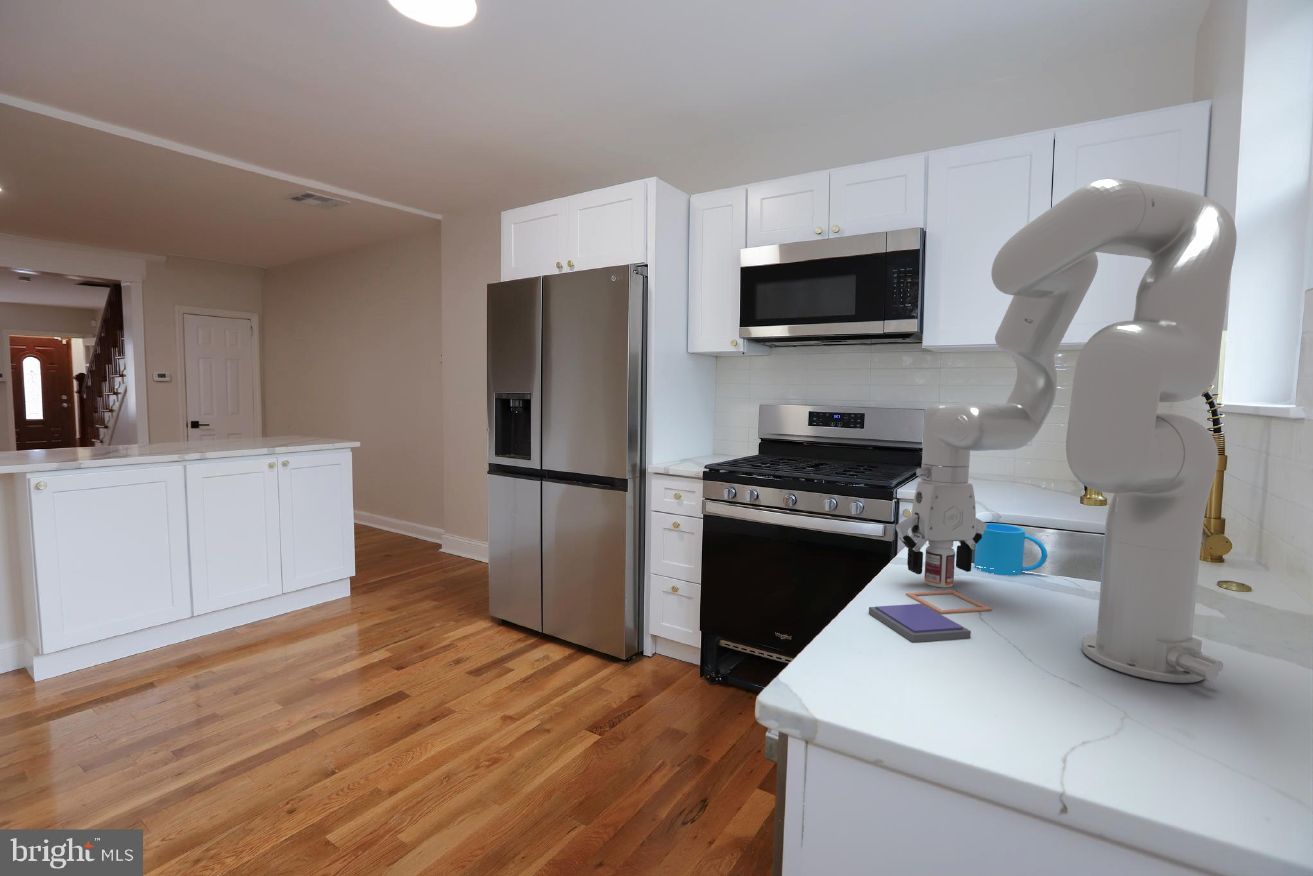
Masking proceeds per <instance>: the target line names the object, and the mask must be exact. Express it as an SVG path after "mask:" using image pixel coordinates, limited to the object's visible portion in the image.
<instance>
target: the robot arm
mask: <svg viewBox="0 0 1313 876" xmlns="http://www.w3.org/2000/svg"><path fill="white" fill-rule="evenodd" d="M1237 237H1238V236H1237V228H1236V224H1235V221H1234V219H1233V217H1232V215H1231V214H1230V212H1229V211H1228V210H1227V209H1226V207H1224V206H1223V205H1222V204H1220V203H1219V202H1218V201H1215V200H1213V199H1211V198H1209V197H1206V196H1203V195H1200V194H1198V193H1195V192H1190V191H1186V190H1182V189H1179V188H1178V189H1177V188H1173V187H1168V186H1163V185H1158V184H1152V183H1145V182H1140V181H1135V180H1131V179H1123V178H1116V177H1115V178H1111V177H1110V178H1109V177H1108V178H1104V179H1099V180H1094V181H1091V182H1090V183H1088V184H1085V185H1083V186H1081V187H1079V188H1078V189H1076V190H1075V191H1073V192H1072V193H1070V194H1068V195H1067V196H1066V197H1064V198H1063V199H1062V200H1060V201H1059V202H1058V203H1055V205H1053V206H1052V207H1050V208H1049V209H1047V210H1046V211H1044V212H1043V213H1042V214H1041V215H1039V216H1038V217H1036V218H1035V219H1033V220H1032V221H1030V222H1029V223H1028V224H1026V225H1024V227H1022V228H1021V229H1019V230H1018V231H1017V232H1016V233H1015V234H1013V236H1011V237H1010V238H1009V239H1008V240H1007V241H1006V242H1005V243H1004V244H1003V246H1002V247H1001V248H1000V249H999V251H998V252H997V254H996V255H995V257H994V259H993V262H992V267H991V279H992V283H993V285H994V286H995V288H996V289H997V290H998V291H999V292H1001V293H1003V294H1005V295H1009V296H1013V297H1012V299H1011V301H1010V303H1009V304H1008V307H1007V309H1006V311H1005V314H1004V315H1003V318H1002V320H1001V322H1000V325H999V327H998V329H997V330H996V332H995V335H994V341H995V344H996V345H997V346H998V348H1000V350H1002V351H1003V352H1004V353H1006V354H1008V355H1009V356H1011V357H1012V360H1013V361H1014V363H1015V366H1016V380H1015V382H1014V386H1013V388H1012V391H1011V393H1010V394H1009V396H1008V398H1007V401H1006V402H1005V403H1002V404H1001V403H985V404H984V403H983V404H981V403H975V404H971V403H970V404H956V403H955V404H953V403H935V404H934V403H933V404H930V405H928V406H926V408H925V411H924V416H923V417H924V418H923V424H924V425H923V433H922V434H923V437H922V438H923V439H922V440H923V441H922V454H921V455H922V457H921V458H922V460H921V467H920V468H917V469H916V471H915V473H916V476H918V477H920V481H917V484H916V487H915V491H914V492H915V493H914V496H913V501H912V502H913V503H912V508H911V509H912V510H911V515H910V516H909V517H907V518H906V519H904V520H902V521H900V522H898V523H897V524H896V525H895V530H896V531H897V534H898V536H899V540H900V541H901V542H902V543H903V545H904V546H905V548H906V549H907V562H906V563H907V570H908V571H910V572H912V573H914V574H917V575H921V574H922V573H923V564H924V563H923V561H924V553H923V551H922V550H921V549H923V547H924V545H926V543H928V541H931V542H949V541H953V542H958V543H959V545H957V546H956V551H955V567H956V568H957V569H959V570H962V571H964V572H966V573H969V572H971V571H972V563H973V550H975V548H976V544H977V543H978V542H979V541H980V540H981V538H982V534H983V533H984V531H985V529H986V527H987V524H986V523H987V522H984V521H983V520H981V519H979V518H977V516H976V515H977V512H976V511H977V510H976V498H975V490H974V486H973V483H971V482H969V475H970V473H969V472H970V461H971V460H970V458H971V452H981V451H986V452H987V451H1001V450H1002V451H1005V450H1006V451H1009V450H1018V449H1020V448H1023V447H1025V446H1027V445H1028V444H1029V443H1030V442H1032V440H1033V439H1034V438H1035V437H1036V436H1037V435H1038V433H1039V431H1040V430H1041V428H1042V427H1043V425H1044V423H1045V421H1046V419H1047V417H1048V416H1049V414H1050V412H1051V410H1052V407H1053V405H1054V402H1055V400H1056V395H1057V383H1058V382H1057V381H1058V380H1057V379H1058V377H1057V376H1058V375H1057V367H1056V363H1055V356H1056V353H1057V351H1058V349H1059V346H1060V345H1061V343H1062V341H1063V339H1064V337H1065V334H1066V333H1067V331H1068V330H1069V327H1070V325H1071V324H1072V321H1073V320H1074V318H1075V315H1076V313H1077V312H1078V310H1079V308H1080V307H1081V304H1082V302H1083V300H1084V298H1085V297H1086V295H1087V293H1088V291H1089V289H1090V287H1091V286H1092V283H1093V282H1094V279H1095V277H1096V274H1097V272H1098V268H1099V267H1098V266H1099V259H1098V255H1097V253H1103V254H1110V255H1117V256H1127V257H1133V258H1134V257H1135V258H1142V259H1143V258H1144V259H1147V260H1149V261H1151V263H1150V265H1149V266H1148V268H1147V270H1146V271H1145V272H1144V273H1143V276H1142V277H1141V280H1140V281H1139V284H1138V287H1137V292H1136V295H1135V308H1134V314H1133V317H1132V320H1124V321H1123V320H1122V321H1118V322H1114V323H1112V324H1111V323H1110V324H1108V325H1106V326H1104V327H1103V328H1101V329H1099V330H1098V331H1097V332H1095V333H1094V334H1093V335H1092V336H1091V337H1090V338H1089V339H1088V340H1087V341H1086V343H1085V344H1084V346H1083V347H1082V349H1081V351H1080V353H1079V355H1078V358H1077V361H1076V363H1075V368H1074V373H1073V381H1072V389H1071V395H1070V405H1069V406H1070V407H1069V411H1068V412H1069V414H1068V421H1067V431H1066V442H1065V452H1066V460H1067V464H1068V467H1069V469H1070V471H1071V473H1072V474H1073V476H1074V478H1076V480H1078V482H1079V483H1081V484H1082V485H1083V486H1085V487H1087V488H1088V489H1091V490H1093V491H1096V492H1099V493H1104V494H1105V493H1106V494H1113V496H1112V498H1111V501H1110V503H1109V506H1108V509H1107V514H1106V519H1105V526H1104V537H1103V551H1102V561H1101V562H1102V563H1101V573H1100V574H1101V575H1100V576H1101V577H1100V589H1099V599H1098V600H1099V602H1098V613H1097V625H1096V626H1097V627H1096V633H1094V634H1089V635H1087V636H1085V637H1083V638H1082V640H1081V648H1080V649H1081V650H1082V652H1083V653H1084V654H1085V655H1086V656H1087V657H1088V658H1090V659H1091V660H1092V661H1095V662H1096V663H1098V664H1100V665H1102V666H1104V667H1106V668H1109V669H1112V670H1114V671H1118V672H1120V673H1123V674H1127V675H1130V676H1133V677H1136V678H1137V677H1139V678H1141V679H1147V680H1151V681H1157V682H1163V683H1174V684H1175V683H1176V684H1191V683H1197V682H1200V681H1203V680H1206V681H1210V682H1214V681H1215V680H1216V679H1217V678H1218V677H1219V674H1220V672H1221V671H1222V670H1223V668H1224V663H1223V661H1221V660H1218V659H1217V658H1214V657H1211V656H1207V655H1204V654H1203V652H1202V647H1203V646H1202V645H1203V640H1200V639H1198V638H1195V637H1194V635H1193V634H1194V626H1195V625H1194V624H1195V614H1196V603H1197V602H1196V601H1197V591H1198V581H1199V579H1198V578H1199V569H1200V557H1201V549H1202V541H1203V532H1204V530H1203V529H1204V522H1205V516H1206V515H1205V514H1206V508H1207V505H1208V500H1209V497H1210V494H1211V490H1212V487H1213V485H1214V482H1215V481H1214V480H1215V479H1216V474H1217V469H1218V462H1219V451H1218V446H1217V443H1216V440H1215V438H1214V437H1213V435H1212V434H1211V432H1210V431H1209V430H1208V429H1207V428H1206V427H1205V426H1204V425H1202V424H1201V423H1199V422H1198V421H1196V420H1194V419H1191V418H1190V417H1186V416H1183V415H1179V414H1174V413H1163V412H1162V413H1161V412H1158V408H1159V403H1178V402H1185V401H1188V400H1192V399H1195V398H1198V397H1200V396H1201V395H1202V394H1203V393H1205V392H1206V391H1207V390H1208V389H1209V388H1210V387H1211V385H1212V384H1213V381H1214V380H1215V378H1216V374H1217V371H1218V370H1217V369H1218V365H1219V359H1220V351H1221V346H1222V345H1221V344H1222V339H1223V331H1224V323H1225V318H1226V311H1227V301H1228V300H1227V298H1228V290H1229V284H1230V279H1231V274H1232V268H1233V266H1234V265H1233V264H1234V260H1235V259H1234V258H1235V256H1236V255H1235V254H1236V249H1237V248H1236V247H1237V242H1238V241H1237V239H1238V238H1237ZM909 529H910V531H911V532H910V533H911V535H909Z"/></svg>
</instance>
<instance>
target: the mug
mask: <svg viewBox="0 0 1313 876" xmlns="http://www.w3.org/2000/svg"><path fill="white" fill-rule="evenodd" d="M985 523H986V524H987V527H986V529H985V531H984V533H983V534H982V538H981V540H980V541H979V542H978V543H977V544H976V548H975V549H974V550H975V551H974V564H973V565H975V567H974V568H975V569H976V568H977V569H976V570H978V569H981V571H980V572H983V573H987V572H988V573H987V574H991V573H994V574H993V575H998V576H1006V575H1007V576H1008V577H1009V576H1010V577H1013V576H1020V575H1022V574H1023V572H1029V571H1035V570H1036V569H1039V568H1041V567H1042V566H1043V565H1044V564H1046V561H1047V559H1048V556H1049V555H1048V550H1047V548H1046V547H1045V545H1044V544H1043V542H1041V540H1039V539H1038V538H1036V537H1033V536H1032V535H1029V534H1026V530H1025V529H1024V528H1022V527H1018V526H1016V525H1015V526H1014V525H1010V524H1005V523H995V522H994V523H990V522H989V523H988V522H985ZM1026 540H1028V541H1031V542H1033V543H1034V544H1035V545H1036V546H1037V547H1038V548H1039V549H1040V553H1041V557H1040V559H1039V560H1038V562H1036V563H1035V564H1032V565H1028V566H1024V555H1025V553H1024V552H1025V541H1026ZM976 566H981V567H983V568H979V567H976ZM984 567H986V568H984ZM990 568H994V569H990ZM1013 571H1015V572H1013Z"/></svg>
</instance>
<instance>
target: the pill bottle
mask: <svg viewBox="0 0 1313 876" xmlns="http://www.w3.org/2000/svg"><path fill="white" fill-rule="evenodd" d="M927 543H928V546H927V547H926V548H925V556H924V557H925V558H924V560H925V561H924V562H925V563H924V583H925V584H926V585H928V586H931V587H935V588H937V587H938V588H944V589H945V588H951V587H953V586H954V580H955V564H956V551H955V549H954V548H953V547H954V541H949V542H931V541H927Z"/></svg>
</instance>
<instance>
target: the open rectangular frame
mask: <svg viewBox="0 0 1313 876" xmlns="http://www.w3.org/2000/svg"><path fill="white" fill-rule="evenodd" d="M941 595H953V596H955V597H958V598H959V599H961V600H964V601H966V602H968V603H970V604H973V605H974V606H976V607H969V608H967V607H966V608H965V607H964V608H953V609H941V608H939V607H937V606H936V605H933V604H932V603H930V602H928V601H926V600H924V599H923V598H920V596H941ZM905 596H907V597H909V598H910V599H913V600H914V601H916V602H918V603H919V604H923V605H924V606H926V607H928V608H930V609H932V610H934V611H935V612H937V613H939V614H941V615H944V614H945V615H947V614H959V613H961V614H963V613H974V612H975V613H977V612H978V613H979V612H990V611H992V610H993V608H991V607H989V606H987V605H985V604H983V603H981V602H979V601H976V600H974V599H972V598H970V597H968V596H966V595H964V594H962V593H960V592H957V591H956V590H951V589H950V590H939V591H938V590H935V591H921V592H920V591H919V592H918V591H917V592H905Z"/></svg>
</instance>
